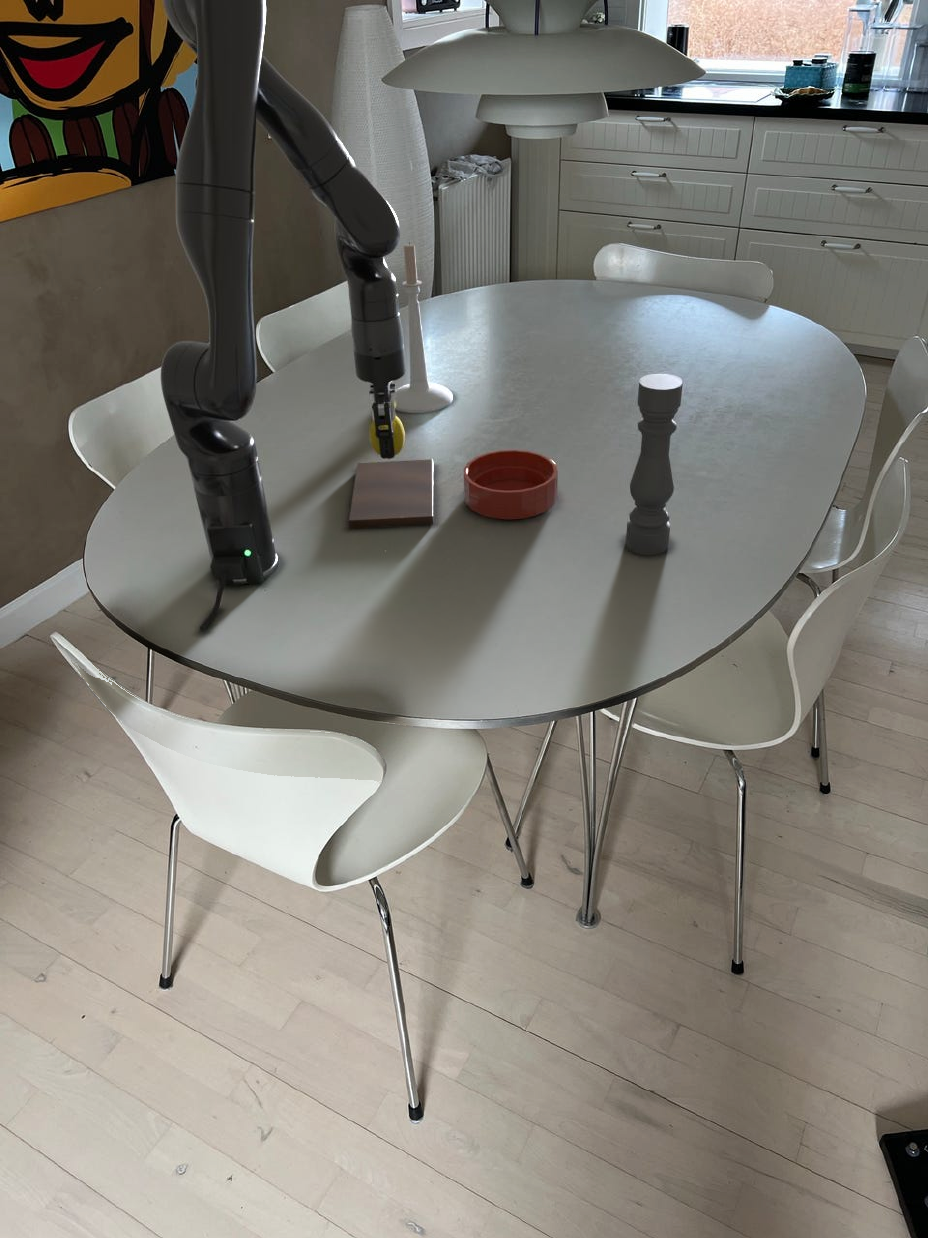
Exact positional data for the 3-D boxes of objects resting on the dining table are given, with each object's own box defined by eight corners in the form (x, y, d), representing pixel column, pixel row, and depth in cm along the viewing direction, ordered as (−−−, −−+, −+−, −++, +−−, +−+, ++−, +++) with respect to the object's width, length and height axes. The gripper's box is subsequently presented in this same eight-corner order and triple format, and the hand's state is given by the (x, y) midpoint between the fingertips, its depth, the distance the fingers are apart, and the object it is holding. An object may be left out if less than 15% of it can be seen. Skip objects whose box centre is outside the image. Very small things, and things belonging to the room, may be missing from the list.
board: (433, 524, 144) (432, 516, 143) (349, 528, 144) (348, 520, 143) (433, 466, 160) (432, 459, 159) (358, 470, 160) (357, 462, 159)
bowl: (561, 519, 144) (562, 489, 140) (466, 524, 144) (464, 494, 140) (551, 475, 156) (552, 447, 152) (463, 480, 156) (462, 452, 153)
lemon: (402, 467, 146) (397, 419, 141) (368, 465, 147) (362, 418, 142) (410, 451, 150) (406, 405, 145) (377, 450, 151) (372, 403, 146)
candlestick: (379, 395, 187) (363, 239, 170) (438, 383, 191) (428, 229, 174) (402, 417, 178) (387, 255, 160) (462, 404, 182) (455, 244, 164)
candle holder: (639, 529, 140) (652, 369, 126) (676, 541, 137) (693, 378, 122) (617, 546, 136) (628, 383, 122) (654, 560, 133) (670, 393, 118)
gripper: (355, 329, 143) (367, 431, 153) (349, 363, 131) (362, 470, 141) (404, 326, 143) (412, 428, 153) (402, 360, 132) (411, 468, 141)
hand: (388, 448), depth 147 cm, fingers closed on lemon, 5 cm apart
